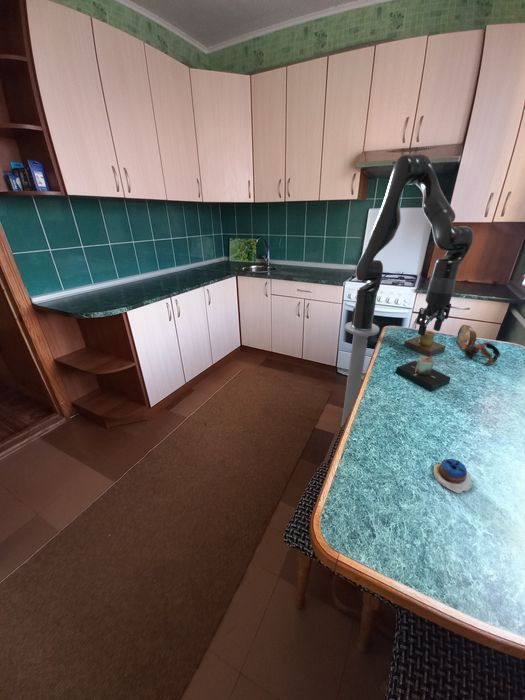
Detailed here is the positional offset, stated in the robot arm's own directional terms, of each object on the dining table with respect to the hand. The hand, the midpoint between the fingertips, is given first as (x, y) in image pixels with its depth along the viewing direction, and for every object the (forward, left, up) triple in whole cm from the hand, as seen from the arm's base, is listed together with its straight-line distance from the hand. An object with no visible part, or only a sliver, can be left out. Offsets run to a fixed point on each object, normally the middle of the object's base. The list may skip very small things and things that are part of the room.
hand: (428, 332), depth 107 cm
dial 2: (+7, -9, -11) cm, 15 cm away
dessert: (+38, -41, -14) cm, 57 cm away
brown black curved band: (+9, +22, -14) cm, 28 cm away
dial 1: (-8, +13, -11) cm, 19 cm away
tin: (-1, +30, -14) cm, 33 cm away
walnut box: (-8, +13, -13) cm, 21 cm away
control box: (+7, -9, -13) cm, 17 cm away
